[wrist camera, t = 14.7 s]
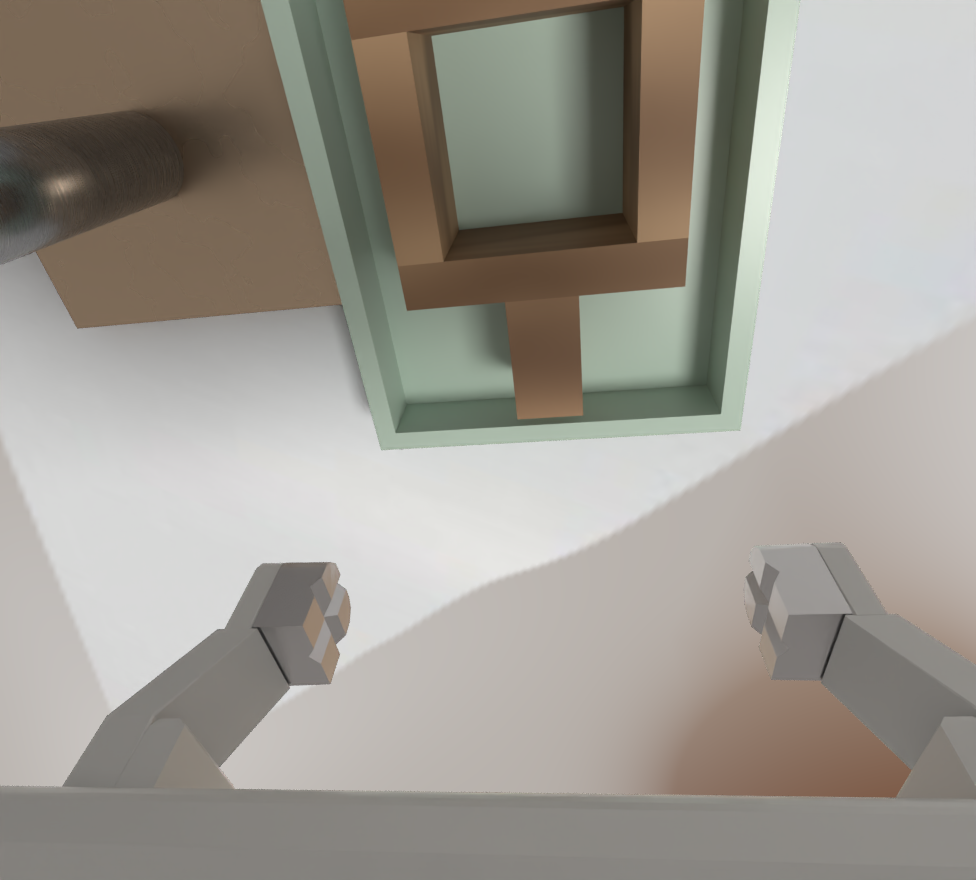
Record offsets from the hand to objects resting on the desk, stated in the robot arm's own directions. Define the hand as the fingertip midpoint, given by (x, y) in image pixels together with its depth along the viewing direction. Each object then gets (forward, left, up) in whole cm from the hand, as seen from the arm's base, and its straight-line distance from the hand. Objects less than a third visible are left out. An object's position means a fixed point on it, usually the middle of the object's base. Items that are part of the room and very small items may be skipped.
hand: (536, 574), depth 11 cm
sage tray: (-5, 0, -15) cm, 16 cm away
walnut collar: (-4, 0, -14) cm, 15 cm away
